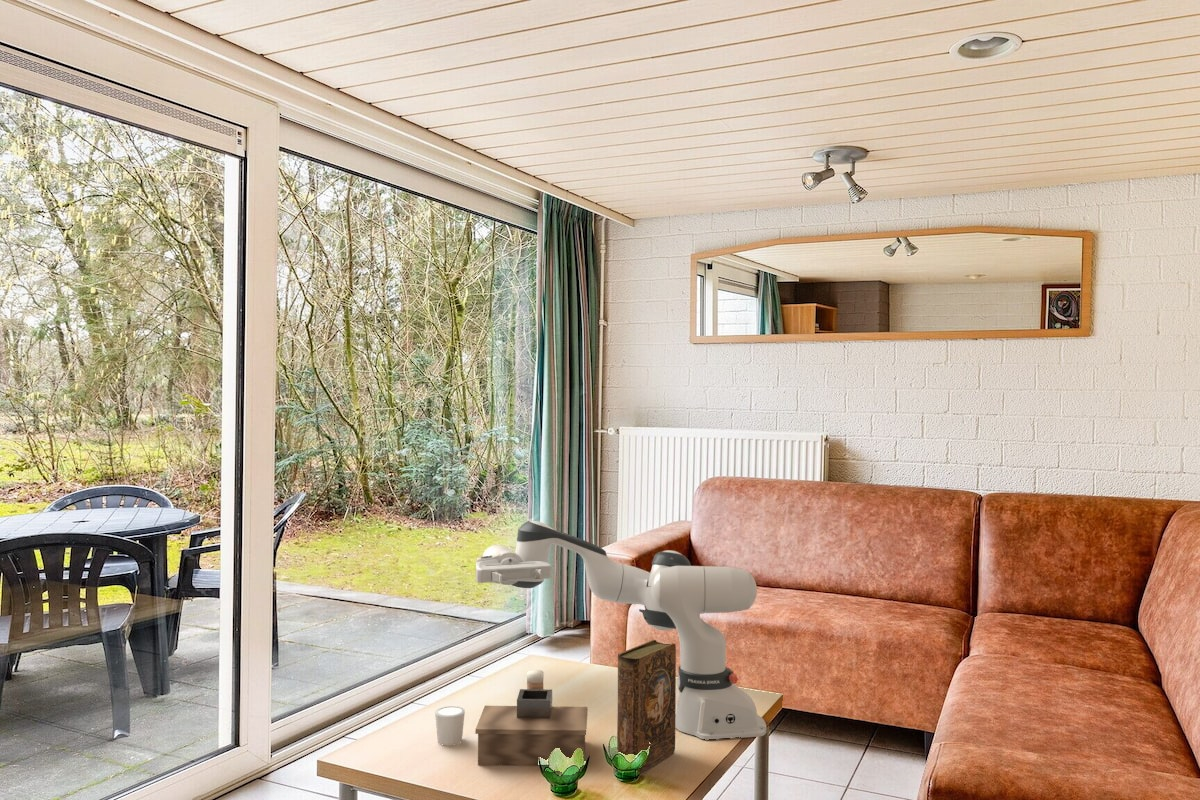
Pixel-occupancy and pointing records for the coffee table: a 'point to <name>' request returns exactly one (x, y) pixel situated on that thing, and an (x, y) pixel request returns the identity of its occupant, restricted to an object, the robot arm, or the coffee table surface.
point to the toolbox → (529, 730)
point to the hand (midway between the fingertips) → (520, 577)
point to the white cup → (449, 725)
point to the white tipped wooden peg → (535, 679)
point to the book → (647, 701)
